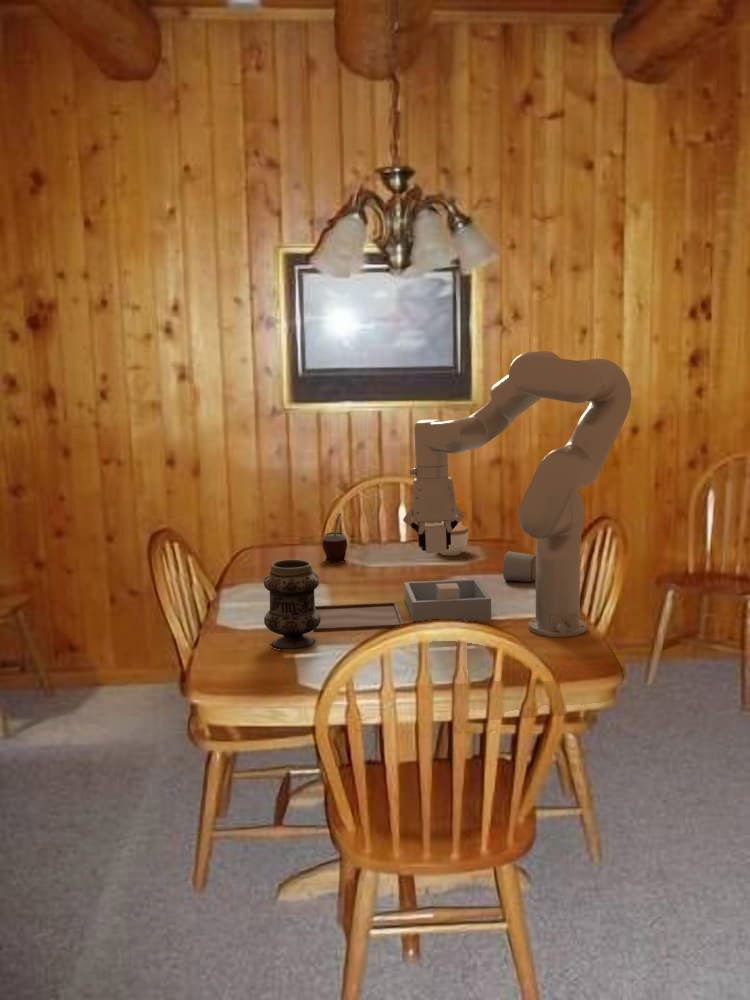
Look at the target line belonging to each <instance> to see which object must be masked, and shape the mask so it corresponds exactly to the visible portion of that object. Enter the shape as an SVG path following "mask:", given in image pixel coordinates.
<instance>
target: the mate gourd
mask: <svg viewBox="0 0 750 1000" xmlns="http://www.w3.org/2000/svg"><path fill="white" fill-rule="evenodd" d="M341 515H342V513H339V514H338V515H337V517H336V519H335V526H334V532H328V533H326V534H325V535H324V536H323V539H322V549H323V551H324V554H325V556H326V557H325V561H327V560H330V561H329V562H330V563H329V564H333V563H332V562H334V561H336V562H337V561H345V562H346V559H345V557H346V551H347V548H348V540H347V537H346V535H345V533H343V532H339V531H338V530H337V529H338V523H339V518H340V517H341ZM337 531H338V532H337ZM334 563H335V562H334Z"/></svg>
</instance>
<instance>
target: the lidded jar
mask: <svg viewBox="0 0 750 1000" xmlns="http://www.w3.org/2000/svg"><path fill="white" fill-rule="evenodd" d="M468 537H469V527H468V526H466V525H464V524H463V525H462V524H459V523H458V524H457V525H456V527H455V528H454V529H453V530H452V532H451V545H449V549H447V552H439V553H440V555H441V556H459V555H460V554H461V553H462V552H463V551H464V549H465V548H466V546H467V544H468Z"/></svg>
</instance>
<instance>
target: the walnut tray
mask: <svg viewBox="0 0 750 1000" xmlns="http://www.w3.org/2000/svg"><path fill="white" fill-rule="evenodd" d="M315 609H316V610H317V611H318V612H319V614H320V616H321V621H320V624H319V625H318V626H317V627H316V628H315V629H314V630H313V631H314V632H327V631H329V632H331V631H349V630H351V631H352V630H354V631H355V630H373V629H390V628H391V629H392V628H393V627H396V626H400V625H404V621H403V619H402V615H401V613H400V610H399V607H398V604H397V602H396V601H395V602H394V601H393V602H376V603H375V602H374V603H373V602H371V603H369V602H368V603H349V604H346V603H345V604H331V605H329V604H327V605H315ZM404 626H405V625H404ZM396 628H397V627H396Z"/></svg>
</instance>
